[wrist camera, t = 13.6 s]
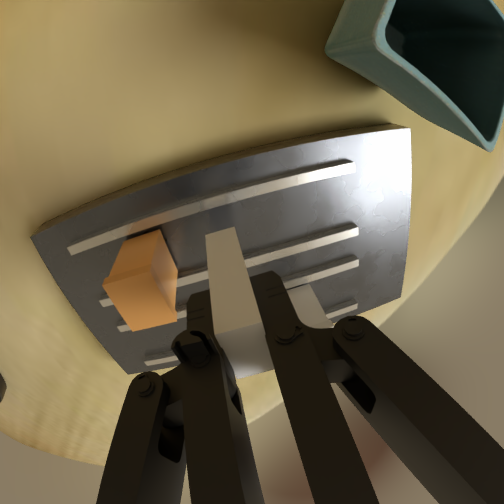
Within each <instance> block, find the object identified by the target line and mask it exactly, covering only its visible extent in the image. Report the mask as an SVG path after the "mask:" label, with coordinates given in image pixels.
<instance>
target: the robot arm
mask: <svg viewBox="0 0 504 504" xmlns="http://www.w3.org/2000/svg"><path fill="white" fill-rule="evenodd" d="M205 238H206V252H207V264H208V276H209V287H210V289H208V290H204V291H201V292H197V293H193V294H191V295H190V297H189V299H188V301H187V303H186V313H187V314H186V319H187V330H184V331H182V332H181V333H180V334H178V335H177V336H176V337H175V339H174V340H173V342H172V345H171V349H172V351H173V352H174V354H175V355H176V357H177V358H178V360H179V361H180V362H181V363H180V364H179V365H178V366H177V367H176V368H174V369H172V370H171V371H169V372H167V373H165V374H163V375H161V376H160V375H158V374H157V373H155V372H151V371H148V372H143V373H141V374H139V375H137V376H136V377H135V378H134V379H133V380H132V382H131V384H130V386H129V388H128V391H127V394H126V397H125V400H124V403H123V407H122V410H121V413H120V416H119V419H118V423H117V426H116V429H115V432H114V436H113V439H112V443H111V446H110V450H109V453H108V457H107V461H106V465H105V469H104V473H103V476H102V480H101V485H100V489H99V494H98V498H97V502H96V504H180V501H181V495H182V488H183V482H184V475H185V470H186V464H187V471H188V480H189V488H190V496H191V503H192V504H265V503H264V498H263V495H262V490H261V486H260V482H259V478H258V473H257V469H256V465H255V460H254V456H253V451H252V447H251V442H250V437H249V433H248V428H247V423H246V418H245V413H244V409H243V404H242V399H241V393H240V390H239V388H238V386H237V384H236V379H235V376H236V378H237V379H240V378H244V377H247V376H251V375H255V374H259V373H262V372H266V371H270V370H273V369H275V373H276V376H277V380H278V383H279V387H280V390H281V393H282V397H283V400H284V403H285V407H286V410H287V413H288V417H289V420H290V423H291V427H292V430H293V434H294V437H295V440H296V443H297V447H298V450H299V453H300V456H301V460H302V463H303V466H304V469H305V473H306V476H307V479H308V483H309V486H310V489H311V492H312V496H313V498H314V502H315V504H379V502H378V499H377V496H376V494H375V491H374V489H373V486H372V484H371V481H370V479H369V476H368V474H367V471H366V469H365V466H364V464H363V461H362V459H361V456H360V454H359V451H358V449H357V447H356V444H355V442H354V439H353V437H352V434H351V432H350V430H349V427H348V425H347V422H346V420H345V418H344V415H343V413H342V410H341V408H340V406H339V403H338V401H337V398H336V396H335V394H334V391H333V389H332V387H331V384H330V383H336V384H337V385H338V386H339V388H340V389H341V390H342V391H343V392H344V394H345V395H346V396H347V397H348V398H349V400H350V401H351V402H352V403H353V404H354V406H356V408H357V409H358V410H359V411H360V413H361V414H362V415H363V416H364V418H365V419H366V420H367V421H368V422H369V423H370V425H371V426H372V427H373V428H374V429H375V431H376V432H377V433H378V434H379V435H380V436H381V437H382V439H383V440H384V441H385V442H386V443H387V445H388V446H389V447H390V448H391V449H392V450H393V452H394V453H395V454H396V455H397V456H398V457H399V458H400V460H401V461H402V462H403V463H404V464H405V465H406V467H407V468H408V469H409V470H410V471H411V472H412V473H413V475H414V476H415V477H416V478H417V479H418V480H419V481H420V483H421V484H422V485H423V486H424V487H425V488H426V489H427V490H428V492H429V493H430V494H431V495H432V496H433V497H434V498H435V499H436V500H437V502H438V503H439V504H504V449H503V448H502V447H501V446H500V445H499V444H498V443H497V442H496V441H495V440H494V439H493V438H492V437H491V436H490V435H489V434H488V433H487V432H486V431H485V430H484V429H483V428H482V427H481V426H480V425H479V424H478V423H477V422H476V421H475V420H474V419H473V418H472V417H471V416H470V415H469V414H468V413H467V412H466V411H465V410H464V409H463V408H462V407H461V406H460V405H459V404H458V403H457V402H456V401H455V400H454V399H453V398H452V397H451V396H450V395H449V394H448V393H447V392H445V390H444V389H442V388H441V387H440V386H439V385H438V384H437V383H436V382H435V381H434V380H433V379H432V378H431V377H430V376H429V375H428V374H427V373H426V372H424V370H422V369H421V368H420V367H419V366H418V365H417V364H416V363H415V362H414V361H413V360H412V359H411V358H410V357H409V356H407V355H406V354H405V353H404V352H403V351H402V350H401V349H400V348H399V347H398V346H397V345H396V344H394V343H393V342H392V341H391V340H390V339H389V338H388V337H387V336H386V335H384V334H383V333H382V332H381V331H380V330H379V329H378V328H377V327H376V326H375V325H374V324H372V323H371V322H370V321H369V320H367V319H366V318H364V317H361V316H356V315H354V316H347V317H344V318H342V319H340V320H339V321H338V322H337V323H336V324H335V326H334V328H312V327H309V326H307V325H305V324H304V323H302V322H301V321H300V319H299V318H298V315H297V313H296V311H295V309H294V306H293V304H292V302H291V300H290V297H289V295H288V293H287V290H286V288H285V286H284V284H283V281H282V279H281V277H280V276H279V275H278V274H277V273H275V272H274V271H272V270H271V271H268V272H264V273H261V274H258V275H254V276H251V277H249V275H248V272H247V269H246V265H245V262H244V258H243V255H242V251H241V248H240V244H239V241H238V237H237V234H236V230H235V227H231V228H228V229H224V230H221V231H217V232H214V233H210V234H207V235H205ZM5 391H6V383H5V381H4V379H3V377H2V376H1V374H0V402H1V401H2V400H3V397H4V394H5Z"/></svg>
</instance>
